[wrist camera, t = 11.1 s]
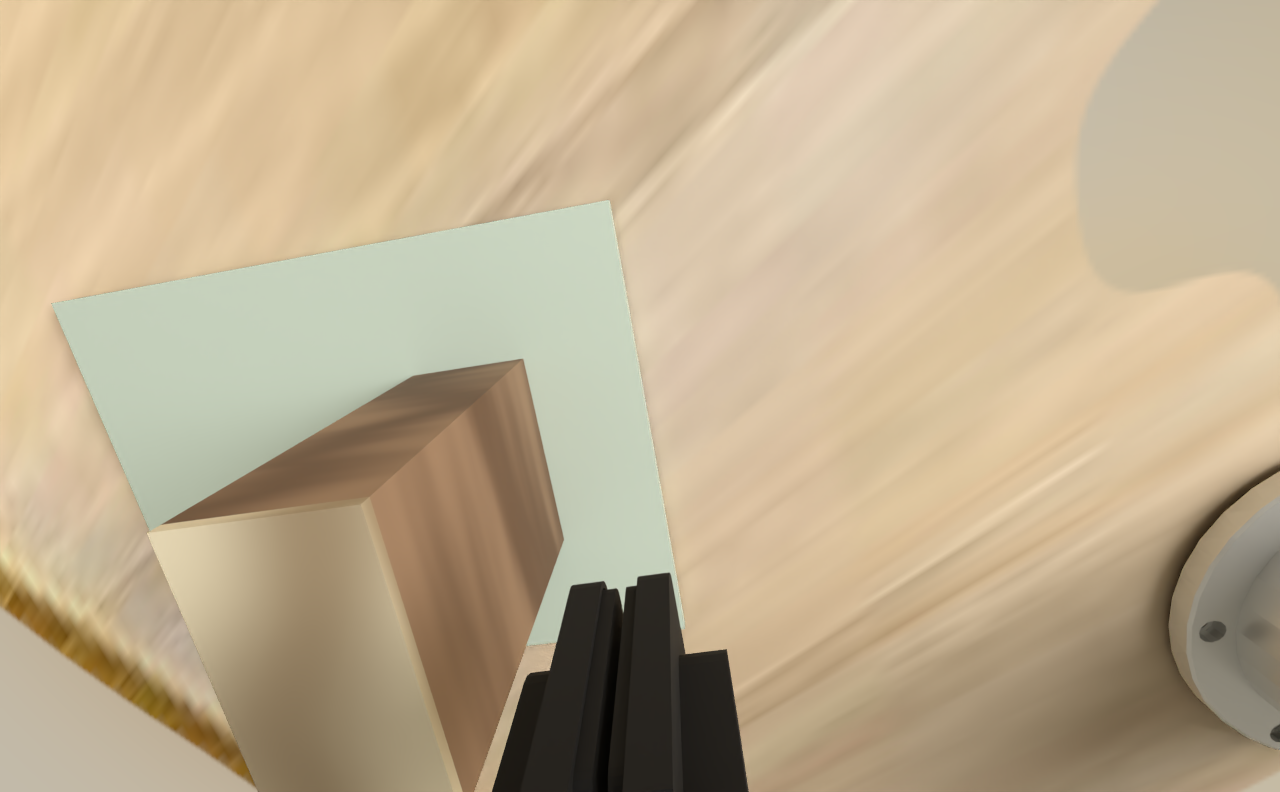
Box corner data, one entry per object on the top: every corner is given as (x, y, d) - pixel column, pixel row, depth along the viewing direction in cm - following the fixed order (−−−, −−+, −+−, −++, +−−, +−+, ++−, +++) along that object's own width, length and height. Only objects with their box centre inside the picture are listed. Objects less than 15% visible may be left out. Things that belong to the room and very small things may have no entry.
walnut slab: (523, 358, 21) (360, 504, 10) (563, 539, 23) (463, 822, 12) (413, 375, 21) (146, 532, 11) (462, 552, 23) (277, 836, 12)
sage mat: (609, 200, 20) (608, 200, 19) (684, 622, 24) (684, 628, 23) (62, 301, 22) (51, 303, 21) (220, 672, 26) (214, 679, 26)
